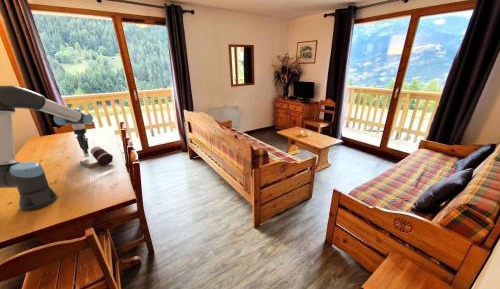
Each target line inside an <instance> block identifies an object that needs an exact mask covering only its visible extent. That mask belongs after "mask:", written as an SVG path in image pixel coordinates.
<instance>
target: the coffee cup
mask: <svg viewBox="0 0 500 289" xmlns="http://www.w3.org/2000/svg"><path fill="white" fill-rule="evenodd" d="M90 154H91V155H92V157H93V159H95V160H96V162H98V163H99V164H100V165H99V166H102V167H103V166H107V165H109V164H110V163H112V161H113V160H114V157H113V155H112V154H111V153H110V152H109V153H108V151H106V149H104V148H102V147H100V146H98V145H97V146H94V147H92V148H91V149H90Z"/></svg>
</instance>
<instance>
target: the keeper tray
mask: <svg viewBox="0 0 500 289" xmlns="http://www.w3.org/2000/svg"><path fill="white" fill-rule="evenodd" d="M79 163H80V165H82V166H85V167H87V168H90V169H92V168H95V167H97V166H101V165H100V164H99V163H98V161H95V162H93V163H88V162H86V161H83V160H80V161H79Z"/></svg>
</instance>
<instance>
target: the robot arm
mask: <svg viewBox="0 0 500 289" xmlns="http://www.w3.org/2000/svg"><path fill="white" fill-rule="evenodd" d="M16 109H27V110H31V111H35V112H37V111H40V112H43V113H46V114H50V115H53V121H54V123H55V124H56V125H57V126H64V125H65V126H66V125H71V127H72V129H73V130H72V131H73V134H74V135H77V136H76V137H75V138H76V139H77V142H78V145H79V147H80V149H81V150H82V153H83V155H84V156H83V157H84V158H89V157H90V155H89V151H88V150H89V140H88V139H89V138H88V137H86V135H85V134H86V133H87V129H86V126H85V125H90V124H92V123H93V121H94V120H93V119H94V116H92V114H91V113H87V112H84V113H83V112H82V110H81V109H80V108H79V107H78V108H75V107H74V108H71V107H68V106H66V105H63V104H60V103H58V102H56V101H53V100H51V99H47V98H46V97H45V96H44V95H43V94H40V93H37V92H36V91H32V90H29V89H27V88H23V87H20V86H17V85H0V189H4V188H11V189H13V188H14V189H15V188H16V189H17V192H18V193H19V200H18V207H19V209H20V210H21V211H24V212H27V211H33V210H38V209H41V208H43V207H46V206H49V205H51V204H53V203H54V202H56V200H57V199H58V196H57V193H56V192H55V191H54V190H53V189H52V187H50V185H49V183H48V179H47V177H46V173H45V170H44V168H43V166H42V164H41V163H39V162H37V161H36V162H35V161H27V162H20V161H19V160H18V159H16V152H15V141H14V131H13V130H14V129H13V120H12V115H14V114H16Z"/></svg>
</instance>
